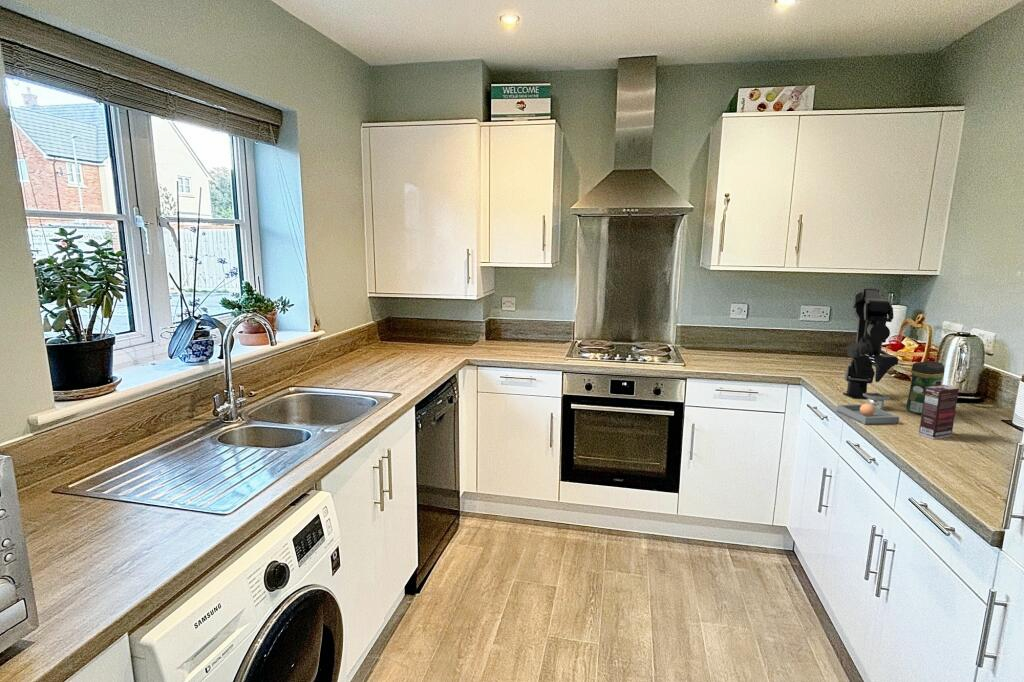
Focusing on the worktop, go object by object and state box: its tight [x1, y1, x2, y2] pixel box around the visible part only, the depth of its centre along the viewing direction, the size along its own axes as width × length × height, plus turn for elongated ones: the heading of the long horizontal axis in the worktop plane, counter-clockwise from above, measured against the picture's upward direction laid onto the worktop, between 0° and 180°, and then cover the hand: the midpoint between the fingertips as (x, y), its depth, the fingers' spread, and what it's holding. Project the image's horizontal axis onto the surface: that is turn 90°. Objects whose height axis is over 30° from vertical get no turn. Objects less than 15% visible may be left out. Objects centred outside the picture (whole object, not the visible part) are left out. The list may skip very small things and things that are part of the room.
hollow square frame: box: [863, 392, 891, 411], centre depth 199 cm, size 6×6×5 cm
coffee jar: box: [905, 360, 945, 415], centre depth 194 cm, size 10×8×19 cm
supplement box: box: [918, 384, 959, 440], centre depth 170 cm, size 9×5×16 cm, turn 109°
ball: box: [860, 403, 875, 416], centre depth 188 cm, size 4×4×4 cm
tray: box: [836, 404, 900, 426], centre depth 188 cm, size 14×12×2 cm
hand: (867, 378), depth 195 cm, fingers open, 9 cm apart
